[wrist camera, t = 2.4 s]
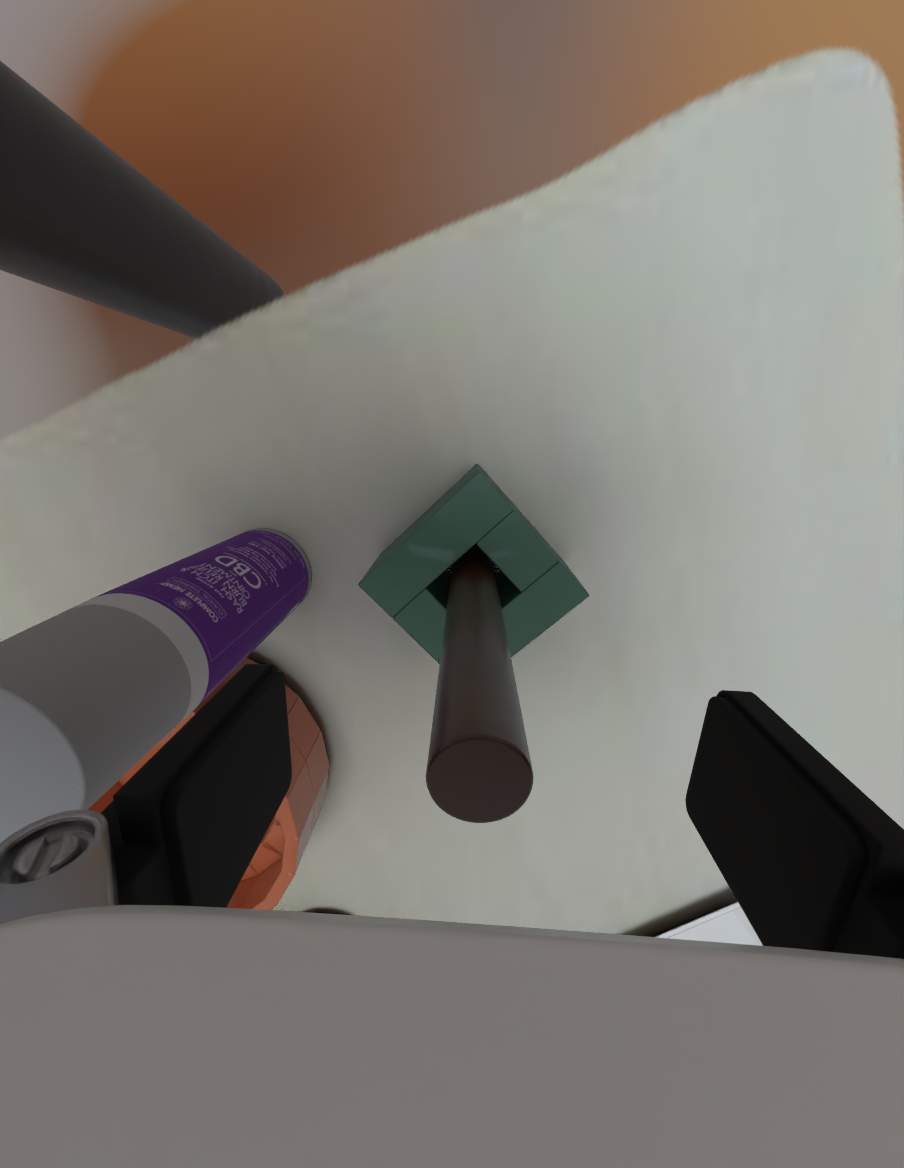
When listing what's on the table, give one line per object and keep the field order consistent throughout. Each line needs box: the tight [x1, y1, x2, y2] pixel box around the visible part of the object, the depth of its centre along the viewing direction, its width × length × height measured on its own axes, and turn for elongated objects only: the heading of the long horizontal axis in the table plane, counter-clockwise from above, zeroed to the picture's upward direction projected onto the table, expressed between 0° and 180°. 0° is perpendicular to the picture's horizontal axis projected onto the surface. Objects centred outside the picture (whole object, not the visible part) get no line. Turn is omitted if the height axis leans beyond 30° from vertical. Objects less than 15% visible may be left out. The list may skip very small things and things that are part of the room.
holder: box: [359, 464, 589, 664], centre depth 21 cm, size 7×7×5 cm
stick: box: [426, 543, 533, 823], centre depth 16 cm, size 2×2×16 cm
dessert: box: [654, 901, 763, 946], centre depth 30 cm, size 12×12×5 cm
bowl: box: [88, 658, 329, 910], centre depth 25 cm, size 15×15×6 cm
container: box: [0, 529, 312, 843], centre depth 17 cm, size 5×5×15 cm
